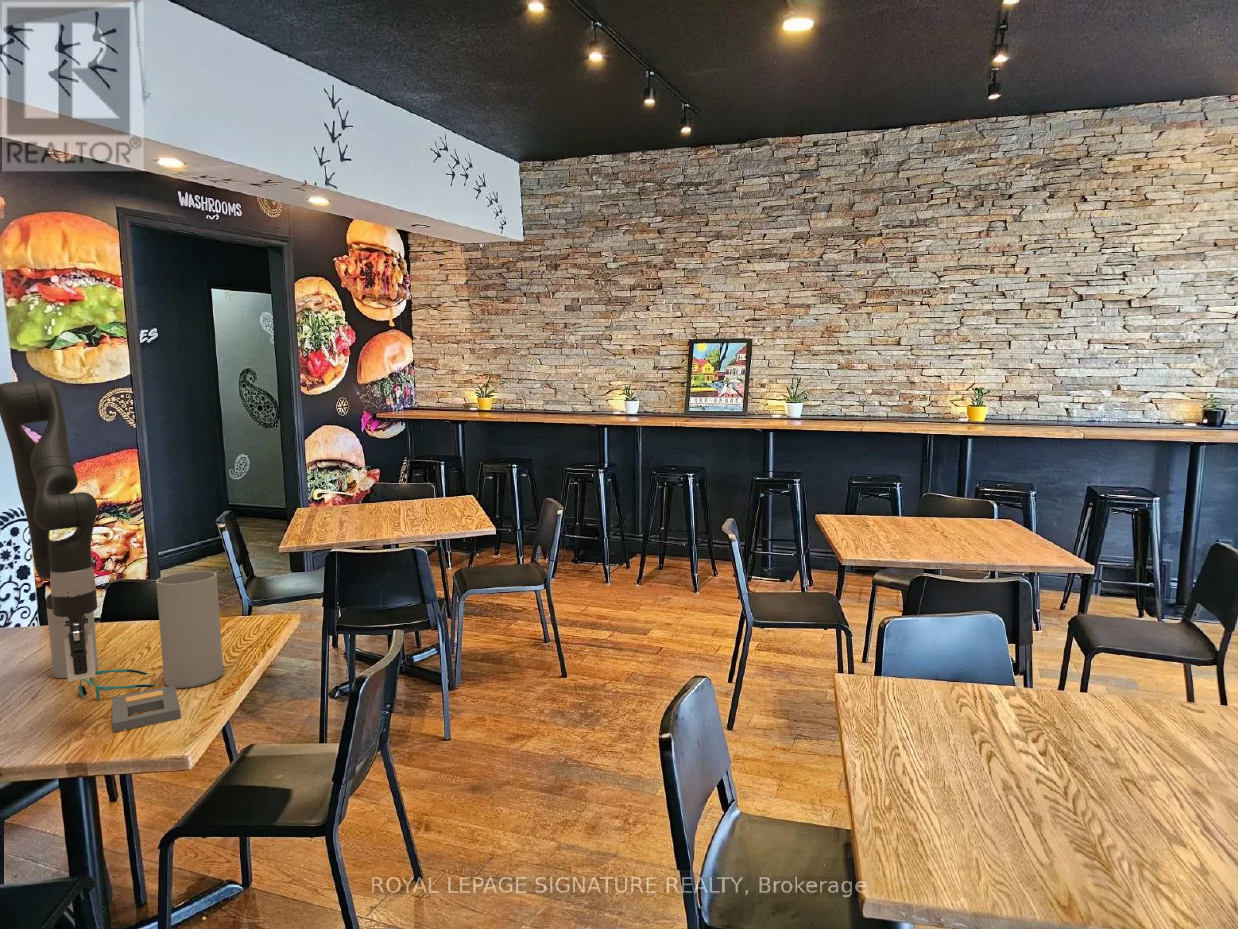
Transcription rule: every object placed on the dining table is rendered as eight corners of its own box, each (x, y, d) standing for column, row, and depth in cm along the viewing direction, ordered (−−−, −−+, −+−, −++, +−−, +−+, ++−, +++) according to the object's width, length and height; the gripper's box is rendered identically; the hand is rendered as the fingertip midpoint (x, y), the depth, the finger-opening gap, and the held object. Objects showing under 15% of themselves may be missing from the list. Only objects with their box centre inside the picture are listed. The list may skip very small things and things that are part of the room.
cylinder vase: (161, 677, 187) (153, 576, 184) (218, 666, 194) (211, 568, 191) (167, 693, 177) (159, 587, 174) (227, 681, 184) (220, 578, 181)
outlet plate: (112, 706, 170) (111, 696, 170) (175, 693, 177) (174, 684, 176) (113, 733, 157) (112, 722, 157) (180, 718, 163) (179, 707, 163)
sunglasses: (74, 688, 182) (75, 667, 181) (147, 678, 191) (148, 658, 191) (80, 706, 171) (81, 684, 171) (158, 695, 180) (158, 674, 180)
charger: (68, 675, 161) (64, 632, 160) (95, 670, 163) (91, 627, 162) (68, 681, 158) (63, 637, 156) (95, 676, 160) (91, 633, 159)
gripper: (52, 585, 162) (60, 663, 164) (49, 601, 150) (57, 685, 152) (95, 579, 166) (102, 656, 168) (95, 595, 154) (103, 677, 157)
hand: (81, 669), depth 160 cm, fingers closed on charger, 4 cm apart
